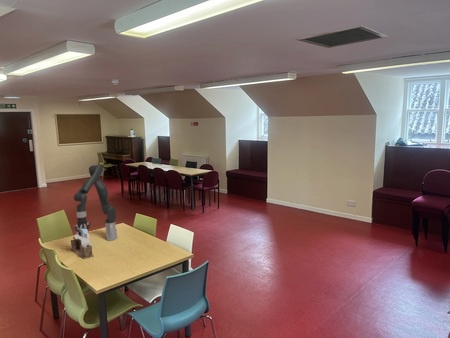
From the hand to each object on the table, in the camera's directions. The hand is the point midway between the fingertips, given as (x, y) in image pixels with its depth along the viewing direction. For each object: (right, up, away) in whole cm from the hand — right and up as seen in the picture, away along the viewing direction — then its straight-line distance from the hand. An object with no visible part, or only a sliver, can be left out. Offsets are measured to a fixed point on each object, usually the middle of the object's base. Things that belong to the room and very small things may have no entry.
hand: (82, 235), depth 279 cm
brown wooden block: (-1, -16, +1) cm, 16 cm away
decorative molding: (-14, -13, +30) cm, 36 cm away
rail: (0, 0, 0) cm, 0 cm away
